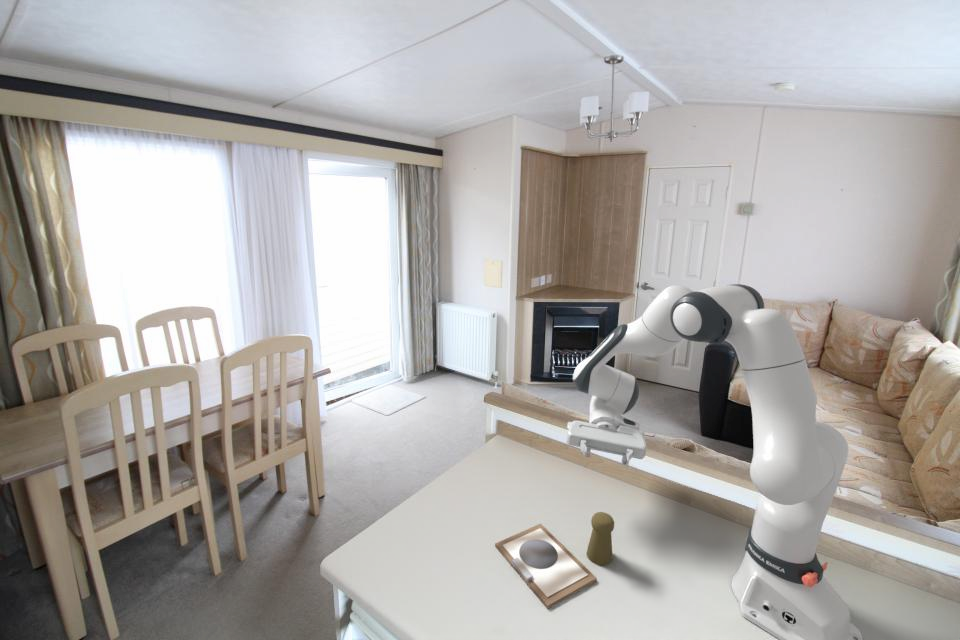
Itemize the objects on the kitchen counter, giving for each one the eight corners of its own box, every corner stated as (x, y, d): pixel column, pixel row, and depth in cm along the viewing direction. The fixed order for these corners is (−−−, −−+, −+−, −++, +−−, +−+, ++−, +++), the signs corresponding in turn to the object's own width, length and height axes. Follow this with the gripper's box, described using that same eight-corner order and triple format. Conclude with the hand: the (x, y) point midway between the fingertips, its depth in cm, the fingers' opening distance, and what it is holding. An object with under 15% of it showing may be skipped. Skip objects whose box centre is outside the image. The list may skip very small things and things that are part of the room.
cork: (613, 567, 104) (618, 527, 101) (586, 563, 105) (590, 523, 102) (611, 548, 110) (615, 510, 107) (586, 544, 111) (589, 506, 108)
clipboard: (596, 580, 100) (596, 575, 100) (547, 608, 93) (547, 602, 93) (540, 526, 117) (540, 520, 116) (495, 546, 110) (495, 540, 109)
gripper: (569, 410, 126) (566, 440, 113) (645, 424, 122) (650, 457, 109) (566, 429, 128) (562, 460, 116) (640, 443, 124) (645, 477, 112)
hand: (606, 458), depth 112 cm, fingers open, 8 cm apart
